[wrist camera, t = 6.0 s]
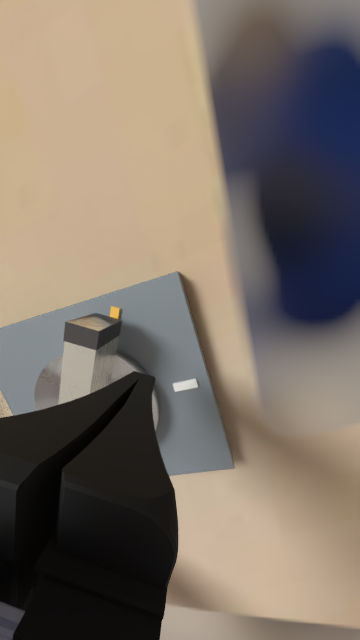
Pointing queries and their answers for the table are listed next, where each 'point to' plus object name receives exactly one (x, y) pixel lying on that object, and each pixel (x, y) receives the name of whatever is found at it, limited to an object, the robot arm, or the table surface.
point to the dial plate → (145, 348)
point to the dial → (87, 363)
